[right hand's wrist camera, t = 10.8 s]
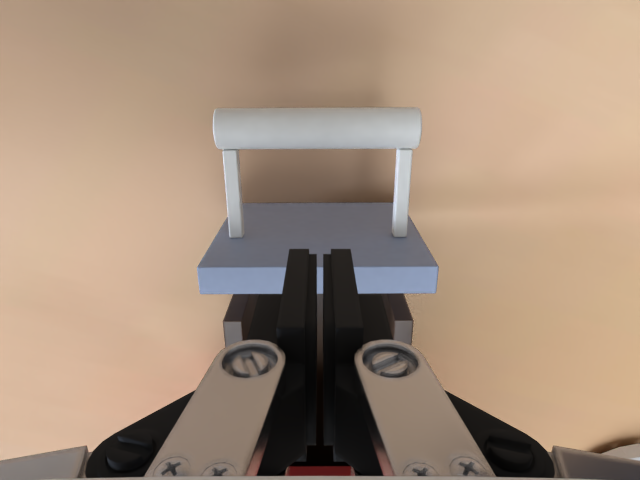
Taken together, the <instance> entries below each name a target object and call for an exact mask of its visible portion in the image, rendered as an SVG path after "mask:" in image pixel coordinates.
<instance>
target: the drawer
mask: <svg viewBox="0 0 640 480" xmlns="http://www.w3.org/2000/svg"><path fill="white" fill-rule="evenodd" d="M421 132H422V116H421V111H420V109H419V108H418V107H345V108H217V109H215V111H214V115H213V135H214V140H215V144H216V146H217V148H218V149H224V150H223V163H224V175H225V187H226V199H227V211H228V217H227V219H226V220H225V222H224V224H223V225H222V227H221V229H220V230H219V232H218V234H217V235H216V237H215V239H214V240H213V242H212V244H211V245H210V247H209V249H208V250H207V252H206V254H205V255H204V257H203V258H202V260H201V262H200V263H199V265H198V267H197V272H198V281H199V289H200V294H233V296H232V299H231V301H230V304H229V307H228V309H227V312H226V315H225V317H224V320H223V327H224V338H225V348H226V347H227V346H229V345H231V344H234V343H237V342H240V341H245V340H247V337H248V333H249V330H250V326H251V322H252V318H253V314H254V311H255V307H256V303H257V299H258V296H259V294H282V290H283V284H284V278H285V272H286V266H287V260H288V254H289V249H309V254H317V406H316V445H307V455H306V462H294V463H292V464H291V465H290V466H350V465H349V464H348V463H346V462H334V455H333V445H324V407H323V254H331V249H351V254H352V260H353V266H354V272H355V278H356V284H357V290H358V294H381V296H382V299H383V303H384V307H385V311H386V314H387V318H388V322H389V326H390V330H391V333H392V337H393V340H395V341H400V342H403V343H406V344H409V345H412V332H413V318H412V315H411V313H410V310H409V307H408V304H407V302H406V299H405V296H404V293H436V288H437V278H438V268H439V267H438V265H437V263H436V261H435V260H434V258H433V256H432V254H431V253H430V251H429V249H428V248H427V246H426V244H425V242H424V241H423V239H422V237H421V236H420V234H419V232H418V230H417V229H416V227H415V225H414V224H413V222H412V220H411V218H410V217H409V215H408V209H409V194H410V180H411V166H412V152H413V151H412V149H416V148H417V147H418V146H419V143H420V139H421ZM239 149H397V151H396V169H395V186H394V203H242V189H241V175H240V161H239Z"/></svg>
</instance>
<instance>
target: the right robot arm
mask: <svg viewBox="0 0 640 480" xmlns="http://www.w3.org/2000/svg"><path fill="white" fill-rule="evenodd" d="M316 406H317V254H309V249H289V254H288V260H287V266H286V272H285V278H284V284H283V290H282V294H259V296H258V299H257V303H256V307H255V311H254V314H253V318H252V322H251V326H250V330H249V333H248V337H247V340H245V341H240V342H237V343H234V344H231V345H229V346H227V347H226V348H224V349H223V350H221V351H220V353H219V354H218V355H217V356H216V357H215V359H214V361H213V362H212V364H211V366H210V367H209V369H208V371H207V372H206V374H205V376H204V377H203V379H202V381H201V382H200V384H199V386H198V387H197V389H196V390H195V391H193V392H191V393H189V394H187V395H186V396H184V397H182V398H180V399H178V400H176V401H174V402H173V403H171V404H169V405H167V406H165V407H163V408H161V409H160V410H158V411H156V412H154V413H152V414H150V415H148V416H147V417H145V418H143V419H141V420H139V421H137V422H135V423H134V424H132V425H130V426H128V427H126V428H124V429H122V430H121V431H119V432H117V433H115V434H113V435H112V436H110V437H109V438H107V439H106V440H104V441H103V442H102V443H101V444H100V445H99V446H98V447H97V448H96V449H95V450H94V451H93V452H89V453H88V449H87V446H81V447H76V448H70V449H64V450H59V451H53V452H47V453H41V454H36V455H30V456H24V457H19V458H13V459H7V460H2V461H0V480H640V461H638V460H633V459H627V458H621V457H616V456H610V455H604V454H599V453H593V452H587V451H581V450H576V449H570V448H564V447H559V446H553V449H552V453H551V452H547V451H546V450H545V449H544V448H543V447H542V446H541V445H540V444H539V443H538V442H537V441H536V440H534V439H533V438H531V437H530V436H528V435H527V434H525V433H523V432H521V431H519V430H518V429H516V428H514V427H512V426H510V425H508V424H506V423H505V422H503V421H501V420H499V419H497V418H495V417H493V416H492V415H490V414H488V413H486V412H484V411H482V410H480V409H479V408H477V407H475V406H473V405H471V404H469V403H467V402H466V401H464V400H462V399H460V398H458V397H456V396H454V395H453V394H451V393H449V392H447V391H445V390H444V389H443V387H442V386H441V384H440V382H439V381H438V379H437V377H436V376H435V374H434V372H433V371H432V369H431V367H430V366H429V364H428V362H427V361H426V359H425V357H424V356H423V355H422V354H421V353H420V351H419V350H417V349H416V348H414V347H413V346H411V345H409V344H406V343H403V342H400V341H395V340H393V337H392V333H391V330H390V326H389V322H388V318H387V314H386V311H385V307H384V303H383V299H382V296H381V294H358V290H357V284H356V278H355V272H354V266H353V260H352V254H351V249H331V254H323V407H324V445H333V455H334V462H346V463H348V464H349V465H350V466H351V476H289V466H290V465H291V464H292V463H294V462H306V455H307V445H316Z"/></svg>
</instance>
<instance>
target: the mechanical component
mask: <svg viewBox="0 0 640 480" xmlns="http://www.w3.org/2000/svg"><path fill="white" fill-rule="evenodd" d="M602 454H604V455H610V456H616V457H621V458H627V459H633V460H638V461H640V444H633V445H628V446H622V447H618V448H615V449H612V450H610V451H607V452H604V453H602Z"/></svg>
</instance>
